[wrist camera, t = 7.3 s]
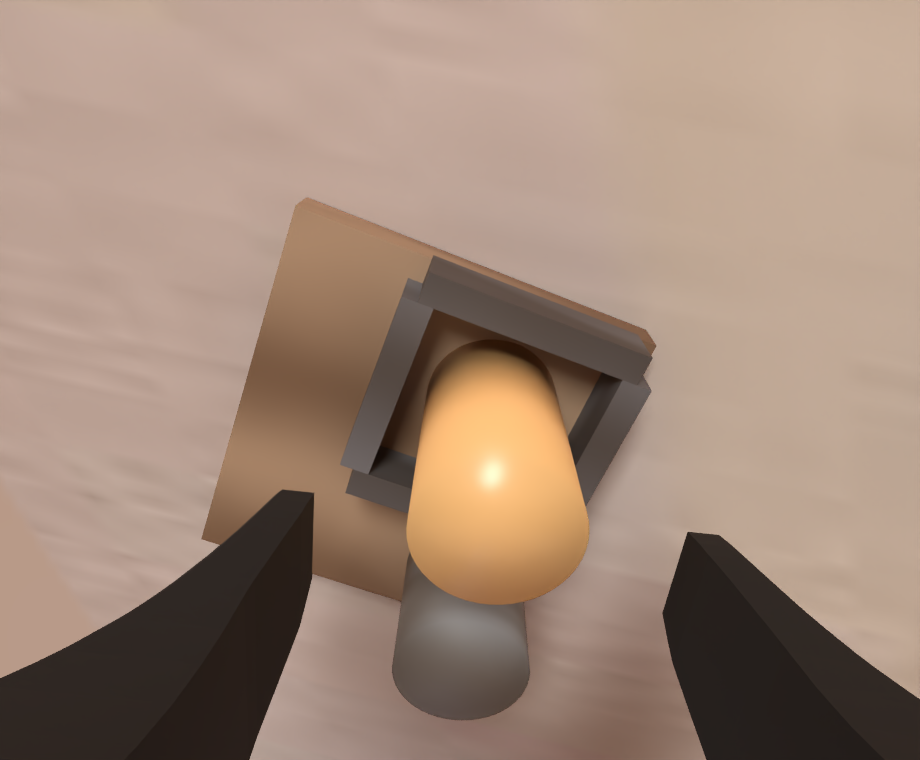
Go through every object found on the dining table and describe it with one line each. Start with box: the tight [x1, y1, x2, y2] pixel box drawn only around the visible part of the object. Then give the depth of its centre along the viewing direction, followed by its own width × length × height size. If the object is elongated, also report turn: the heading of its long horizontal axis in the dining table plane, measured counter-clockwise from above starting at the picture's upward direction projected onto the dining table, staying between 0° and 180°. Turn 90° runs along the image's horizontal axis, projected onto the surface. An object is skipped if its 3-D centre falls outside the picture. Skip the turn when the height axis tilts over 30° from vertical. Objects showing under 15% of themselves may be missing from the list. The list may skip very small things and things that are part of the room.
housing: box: [202, 198, 656, 720], centre depth 18 cm, size 11×10×5 cm
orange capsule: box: [406, 339, 589, 605], centre depth 16 cm, size 4×4×6 cm
